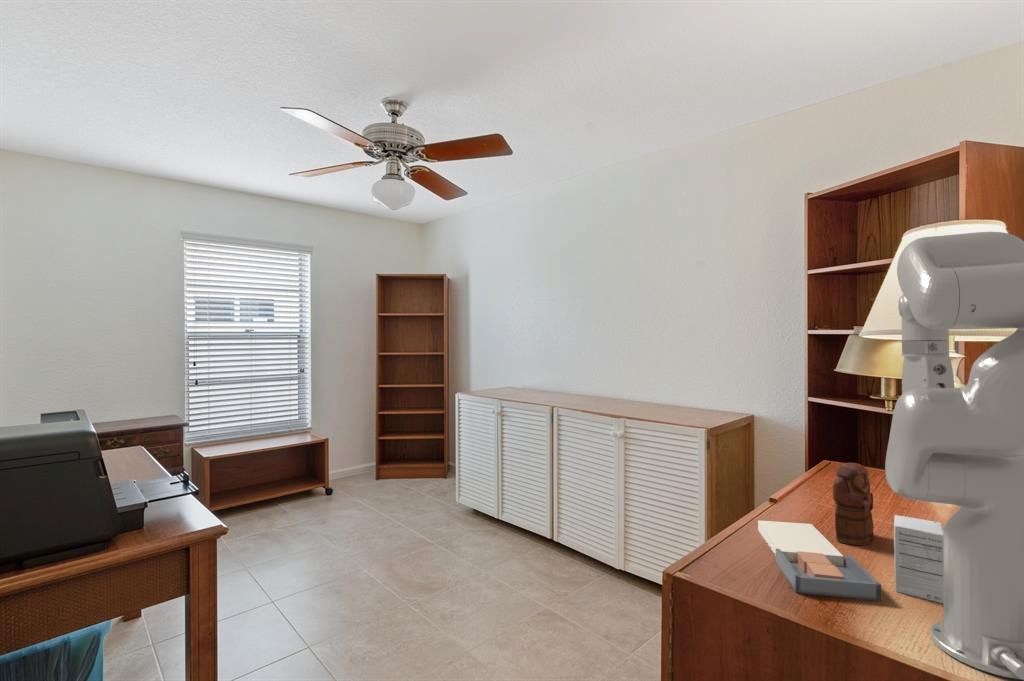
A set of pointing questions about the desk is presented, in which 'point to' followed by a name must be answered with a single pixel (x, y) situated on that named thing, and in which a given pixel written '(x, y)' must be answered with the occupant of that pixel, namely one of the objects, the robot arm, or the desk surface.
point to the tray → (832, 580)
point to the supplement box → (918, 557)
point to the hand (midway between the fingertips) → (925, 437)
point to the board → (798, 540)
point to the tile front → (823, 571)
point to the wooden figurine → (853, 505)
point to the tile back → (811, 559)
